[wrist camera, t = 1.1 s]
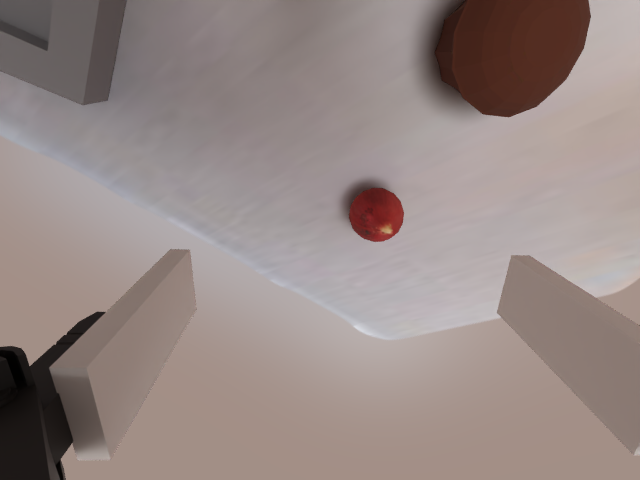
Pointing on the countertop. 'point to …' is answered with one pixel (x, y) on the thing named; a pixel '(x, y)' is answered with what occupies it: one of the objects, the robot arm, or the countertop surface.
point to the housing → (62, 45)
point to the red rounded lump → (376, 214)
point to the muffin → (511, 51)
